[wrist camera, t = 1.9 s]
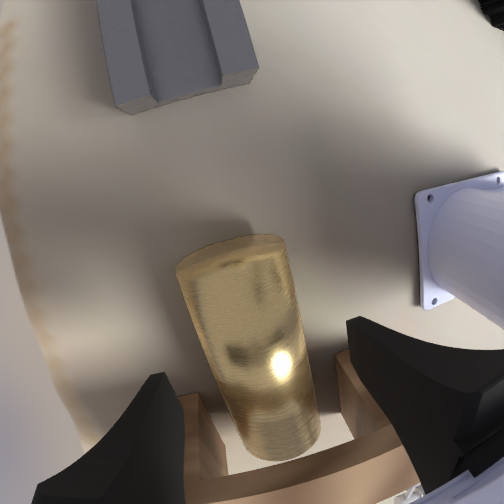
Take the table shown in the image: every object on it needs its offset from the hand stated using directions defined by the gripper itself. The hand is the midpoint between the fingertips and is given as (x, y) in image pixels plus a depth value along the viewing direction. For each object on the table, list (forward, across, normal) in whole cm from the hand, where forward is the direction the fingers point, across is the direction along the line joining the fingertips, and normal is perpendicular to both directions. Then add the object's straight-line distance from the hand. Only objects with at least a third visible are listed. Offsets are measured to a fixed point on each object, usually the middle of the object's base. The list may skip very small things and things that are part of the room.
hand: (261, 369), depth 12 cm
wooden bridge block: (+6, 0, +8) cm, 11 cm away
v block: (+6, 0, -16) cm, 18 cm away
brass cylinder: (+6, 0, +2) cm, 7 cm away
